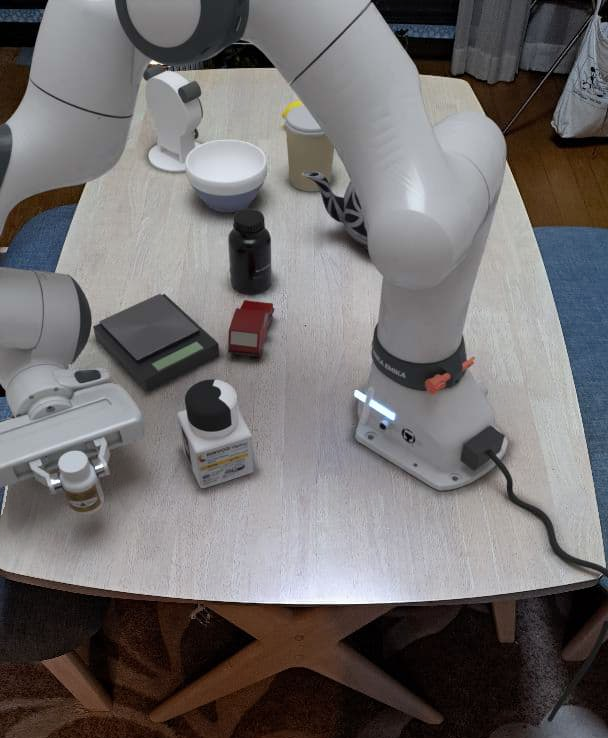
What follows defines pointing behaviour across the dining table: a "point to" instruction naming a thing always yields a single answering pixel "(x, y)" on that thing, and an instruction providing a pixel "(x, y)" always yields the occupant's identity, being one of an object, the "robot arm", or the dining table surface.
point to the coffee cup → (307, 149)
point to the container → (215, 433)
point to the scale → (155, 341)
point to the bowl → (226, 173)
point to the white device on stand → (172, 117)
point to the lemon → (291, 107)
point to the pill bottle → (80, 483)
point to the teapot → (342, 207)
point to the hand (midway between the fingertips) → (80, 481)
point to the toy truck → (249, 328)
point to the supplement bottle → (250, 252)
